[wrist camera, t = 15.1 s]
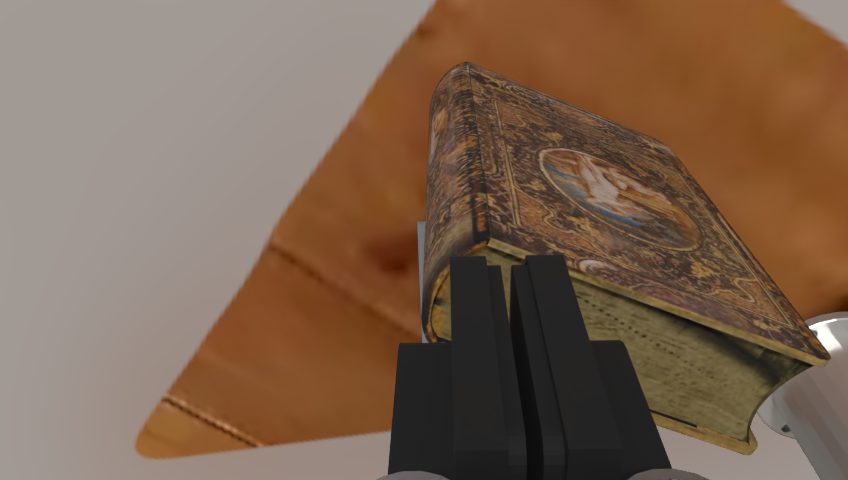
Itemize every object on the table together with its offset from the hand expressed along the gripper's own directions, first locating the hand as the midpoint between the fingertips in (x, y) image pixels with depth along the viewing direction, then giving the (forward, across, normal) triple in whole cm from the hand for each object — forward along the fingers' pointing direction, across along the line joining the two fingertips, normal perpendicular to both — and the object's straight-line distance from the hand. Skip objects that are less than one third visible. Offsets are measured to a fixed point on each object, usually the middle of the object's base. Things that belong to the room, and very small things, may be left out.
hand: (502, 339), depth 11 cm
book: (+39, -6, +11) cm, 41 cm away
